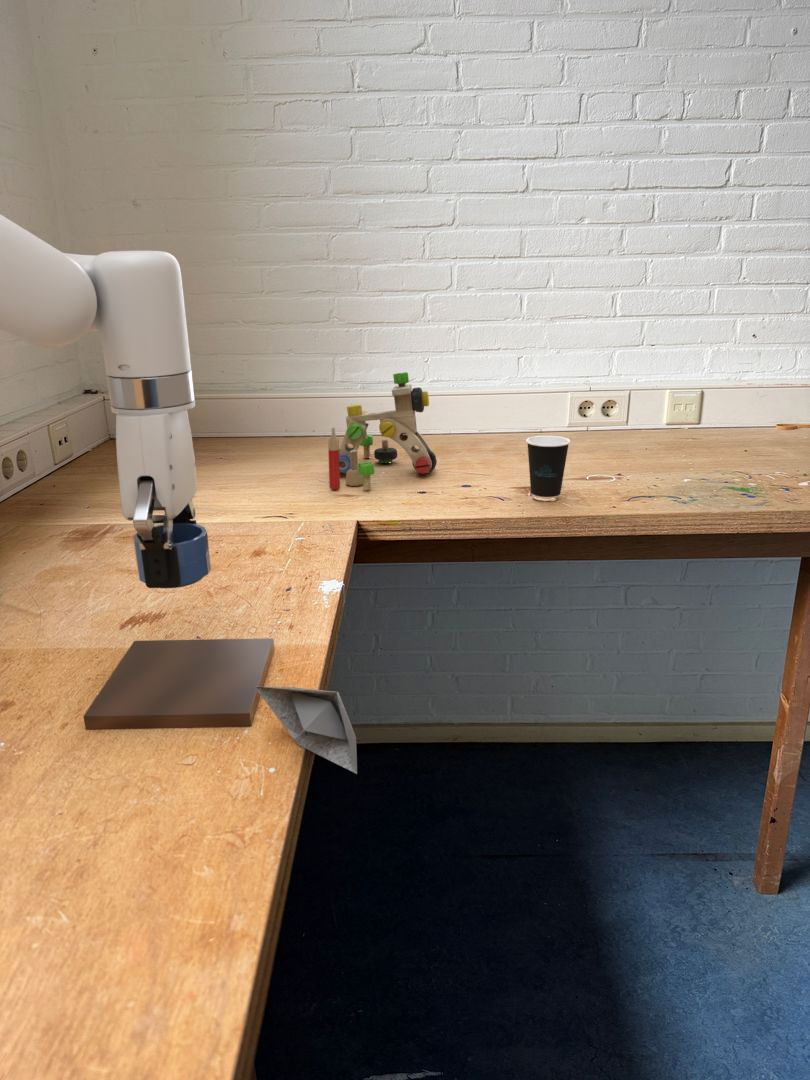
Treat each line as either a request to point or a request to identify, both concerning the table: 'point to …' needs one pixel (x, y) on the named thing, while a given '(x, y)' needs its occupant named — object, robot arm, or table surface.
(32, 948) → the table surface
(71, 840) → the table surface
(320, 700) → the paper boat
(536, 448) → the dixie cup
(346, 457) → the toy construction set
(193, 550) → the bowl
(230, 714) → the board
